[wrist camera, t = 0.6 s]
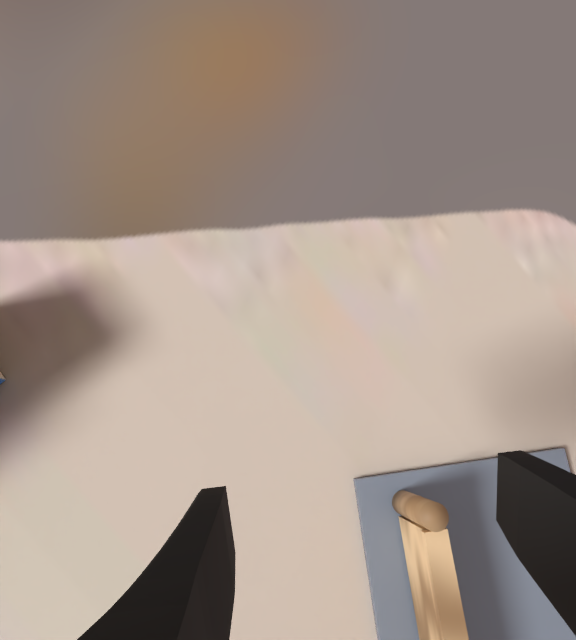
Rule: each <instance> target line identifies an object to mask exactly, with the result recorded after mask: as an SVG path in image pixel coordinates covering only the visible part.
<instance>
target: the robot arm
mask: <svg viewBox="0 0 576 640" xmlns="http://www.w3.org/2000/svg"><path fill="white" fill-rule="evenodd" d="M496 521H497V522H498V524H499V526H500V528H501V530H502V532H503V533H504V535H505V537H506V539H507V541H508V542H509V544H510V546H511V547H512V549H513V551H514V553H515V554H516V556H517V557H518V559H519V560H520V562H521V563H522V564H523V566H524V567H525V569H526V570H527V571H528V573H529V574H530V575H531V577H532V578H533V580H534V581H535V582H536V584H537V585H538V586H539V588H540V589H541V590H542V592H543V593H544V594H545V596H546V597H547V598H548V600H549V601H550V602H551V604H552V605H553V606H554V608H555V609H556V610H557V612H558V613H559V614H560V616H561V617H562V618H563V620H564V621H565V623H566V624H567V625H568V627H569V628H570V629H571V631H572V632H573V633H574V635H575V636H576V475H575V474H572V473H570V472H568V471H566V470H564V469H562V468H560V467H557V466H555V465H553V464H551V463H549V462H547V461H544V460H542V459H540V458H538V457H535V456H533V455H531V454H528V453H526V452H523V451H513V452H504V453H498V466H497V504H496ZM234 595H235V547H234V540H233V533H232V526H231V520H230V513H229V506H228V499H227V492H226V486H223V487H215V488H206V489H202V490H201V491H200V492H199V493H198V495H197V496H196V498H195V500H194V501H193V503H192V504H191V506H190V508H189V509H188V511H187V512H186V514H185V515H184V517H183V518H182V520H181V521H180V523H179V524H178V526H177V527H176V529H175V530H174V531H173V533H172V534H171V536H170V537H169V538H168V540H167V541H166V543H165V544H164V546H163V547H162V548H161V550H160V551H159V552H158V553H157V555H156V556H155V557H154V559H153V560H152V561H151V562H150V564H149V565H148V566H147V567H146V569H145V570H144V571H143V572H142V574H141V575H140V576H139V577H138V578H137V580H136V581H135V582H134V583H133V584H132V585H131V587H130V588H129V589H128V590H127V591H126V592H125V593H124V594H123V596H122V597H121V598H120V599H119V600H118V601H117V602H116V603H115V604H114V605H113V606H112V607H111V608H110V609H109V610H108V611H107V612H106V613H105V614H104V615H103V616H102V617H101V618H100V619H99V620H98V621H97V622H96V623H95V624H93V625H92V626H91V627H90V628H89V629H88V630H87V631H86V632H85V633H84V634H83V635H82V636H81V637H79V638H78V639H77V640H229V637H230V629H231V620H232V612H233V604H234Z"/></svg>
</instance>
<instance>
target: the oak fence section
mask: <svg viewBox="0 0 576 640" xmlns="http://www.w3.org/2000/svg"><path fill="white" fill-rule="evenodd" d="M392 506H393V508H394V510H395V511H396V512H397V513H398V514H400V515H402V516H398V517H399V523H400V528H401V534H402V540H403V546H404V552H405V558H406V564H407V569H408V575H409V581H410V587H411V593H412V599H413V605H414V610H415V616H416V622H417V628H418V634H419V640H469V638H468V633H467V628H466V623H465V617H464V612H463V607H462V602H461V597H460V591H459V586H458V581H457V576H456V571H455V565H454V560H453V555H452V550H451V545H450V539H449V534H448V529H447V528H446V526H447V525H448V521H449V515H448V511H447V509H446V508H445V507H444V506H443V505H442V504H440V503H438V502H435V501H432V500H430V499H427V498H424V497H421V496H419V495H416V494H413V493H411V492H408V491H405V490H400V491H398V492H396V493H395V494H394V496H393V498H392Z"/></svg>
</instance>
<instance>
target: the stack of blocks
mask: <svg viewBox="0 0 576 640" xmlns="http://www.w3.org/2000/svg"><path fill="white" fill-rule="evenodd" d="M4 381H5V378H4V376H3V375H2V373H1V372H0V384H1V383H3V382H4Z"/></svg>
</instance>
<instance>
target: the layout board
mask: <svg viewBox="0 0 576 640" xmlns="http://www.w3.org/2000/svg"><path fill="white" fill-rule="evenodd" d="M528 454H531V455H533V456H535V457H538V458H540V459H542V460H544V461H547V462H549V463H551V464H553V465H555V466H557V467H560V468H562V469H564V470H566V471H568V472H570V468H569V464H568V461H567V457H566V453H565V449H564V448H555V449H549V450H542V451H535V452H529V453H528ZM497 466H498V457H495V458H488V459H482V460H475V461H468V462H462V463H455V464H448V465H442V466H435V467H428V468H421V469H415V470H408V471H401V472H395V473H388V474H381V475H375V476H368V477H361V478H355V479H354V485H355V492H356V498H357V505H358V512H359V518H360V525H361V531H362V538H363V544H364V551H365V558H366V564H367V571H368V577H369V584H370V590H371V597H372V604H373V610H374V617H375V623H376V630H377V636H378V640H419V634H418V628H417V622H416V616H415V610H414V605H413V599H412V593H411V587H410V581H409V575H408V569H407V564H406V558H405V552H404V546H403V540H402V534H401V528H400V523H399V517H398V516H402V515H400V514H398V513H397V512H396V511H395V510H394V508H393V506H392V498H393V496H394V494H395V493H396V492H398V491H400V490H405V491H408V492H411V493H413V494H416V495H419V496H421V497H424V498H427V499H430V500H432V501H435V502H438V503H440V504H442V505H443V506H444V507H445V508H446V509H447V511H448V515H449V521H448V525H447V526H446V528H447V529H448V534H449V539H450V545H451V550H452V555H453V560H454V565H455V571H456V576H457V581H458V586H459V591H460V597H461V602H462V607H463V612H464V617H465V623H466V628H467V633H468V638H469V640H576V636H575V635H574V633H573V632H572V631H571V629H570V628H569V627H568V625H567V624H566V623H565V621H564V620H563V618H562V617H561V616H560V614H559V613H558V612H557V610H556V609H555V608H554V606H553V605H552V604H551V602H550V601H549V600H548V598H547V597H546V596H545V594H544V593H543V592H542V590H541V589H540V588H539V586H538V585H537V584H536V582H535V581H534V580H533V578H532V577H531V575H530V574H529V573H528V571H527V570H526V569H525V567H524V566H523V564H522V563H521V562H520V560H519V559H518V557H517V556H516V554H515V553H514V551H513V549H512V547H511V546H510V544H509V542H508V541H507V539H506V537H505V535H504V533H503V532H502V530H501V528H500V526H499V524H498V522H497V521H496V504H497ZM570 473H571V472H570Z"/></svg>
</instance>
